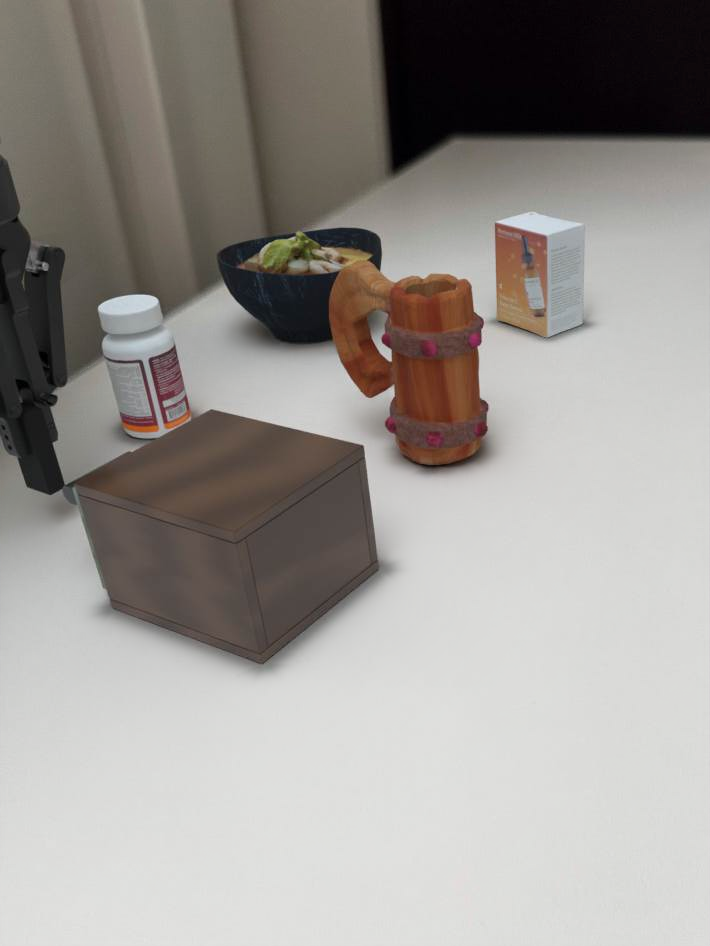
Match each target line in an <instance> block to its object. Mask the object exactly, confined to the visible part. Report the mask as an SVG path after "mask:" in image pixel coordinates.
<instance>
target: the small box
mask: <svg viewBox="0 0 710 946" xmlns="http://www.w3.org/2000/svg"><path fill="white" fill-rule="evenodd" d="M585 232H586V225H585V223H582V222H574V221H570V220H565V219H561V218H557V217H552V216H549V215H545V214H541V213H538V212H535V211H528V212H525V213H521V214H518V215H514V216H511V217H507V218H503V219H500V220H497V221H495V222H494V247H495V248H494V252H495V291H496V294H495V295H496V296H495V297H496V319H497V321H500V322H503V323H506V324H510V325H511V326H515V327H518V328H521V329H523V330H525V331H528V332H531V333H533V334H535V335H539V336H541V337H543V338H546V339H548V338H550V337H553V336H555V335H557V334H561V333H562V332H566V331H568V330H571V329H574V328H576V327H579V326H581V325H583V324H584V295H585V293H584V292H585V291H584V290H585V249H586V248H585V247H586V245H585V244H586V243H585V241H586V233H585Z"/></svg>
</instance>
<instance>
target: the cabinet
mask: <svg viewBox="0 0 710 946" xmlns="http://www.w3.org/2000/svg"><path fill="white" fill-rule="evenodd" d="M74 486H75V489H76V492H77V496H78V499H79V502H80V505H81V509H82V512H83V515H84V518H85V522H86V525H87V528H88V531H89V535H90V538H91V541H92V544H93V548H94V551H95V554H96V557H97V561H98V564H99V567H100V570H101V574H102V577H103V580H104V583H105V587H106V589H105V590H106V592H107V596H108V599H109V602H110V605H111V608H112V609H114V610H117V611H120V612H122V613H125V614H127V615H131V616H132V617H136V618H139V619H141V620H144V621H146V622H149V623H152V624H154V625H157V626H160V627H161V628H164V629H168V630H171V631H173V632H175V633H179V634H181V635H184V636H187V637H189V638H192V639H194V640H197V641H200V642H203V643H205V644H207V645H210V646H214V647H216V648H219V649H222V650H224V651H227V652H229V653H232V654H235V655H237V656H240V657H242V658H245V659H248V660H251V661H254V662H255V663H259V664H264V663H265V662H266V661H267V660H268V659H270V658H271V657H272V656H273V655H275V654H276V653H277V652H279V651H280V650H281V649H283V647H285V646H286V645H287V644H288V643H289V642H291V641H292V640H293V639H295V638H296V637H297V636H298V635H300V634H301V633H302V632H303V631H305V629H307V628H308V627H309V626H311V625H312V624H313V623H314V622H316V620H318V619H319V618H320V617H322V616H323V615H324V614H325V613H326V612H328V611H329V610H330V609H331V608H333V607H334V606H335V605H336V604H338V603H339V602H340V601H341V600H342V599H344V598H345V597H346V596H347V595H349V594H350V593H351V592H352V591H354V590H355V589H356V588H357V587H358V586H360V585H361V584H362V583H363V582H365V581H366V580H367V579H368V578H370V577H371V576H372V575H374V574H375V573H376V572H377V571H378V570H379V568H380V565H379V560H378V559H379V558H378V549H377V542H376V541H377V540H376V534H375V526H374V525H375V524H374V517H373V509H372V502H371V494H370V493H371V492H370V485H369V477H368V469H367V461H366V452H365V446H364V445H363V444H359V443H355V442H351V441H348V440H343V439H338V438H336V437H335V438H334V437H331V436H330V437H329V436H327V435H322V434H317V433H313V432H309V431H305V430H301V429H296V428H293V427H289V426H285V425H279V424H275V423H271V422H267V421H263V420H258V419H254V418H250V417H246V416H243V415H237V414H233V413H229V412H225V411H220V410H217V409H212V408H211V409H209V410H207V411H205V412H203V413H202V414H199V415H198V416H196V417H194V418H191V420H190V421H188V422H187V423H185V424H183V425H181V426H179V427H177V428H175V429H174V430H172V431H170V432H168V433H166V434H164V435H162V436H161V437H159V438H154V439H153V440H152V441H150V442H147V443H146V444H144V445H141V446H140V447H138V448H137V449H134V450H133V451H131V453H129V454H127V455H125V456H123V457H122V458H120V459H118V460H116V461H114V462H112V463H110V464H109V465H107V466H105V467H103V468H101V469H99V470H97V471H96V472H94V473H92V474H90V475H88V476H86V477H84V478H83V479H81V480H79V481H77V482H75V483H74Z"/></svg>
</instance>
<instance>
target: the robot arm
mask: <svg viewBox="0 0 710 946" xmlns="http://www.w3.org/2000/svg"><path fill="white" fill-rule="evenodd" d="M0 144H2V138H1V137H0ZM20 212H21V204H20V201H19V197H18V194H17V190H16V186H15V183H14V180H13V176H12V172H11V169H10V166H9V162H8V159H6V158H5V157H4V156H3V155H1V154H0V439H1V442H2V446H3V448H4V451H5V452H6V453H7V454H8V456H12V457H15V458H16V459H17V462H18V464H19V468H20V470H21V474H22V477H23V480H24V483H25V486H26V488H28V489H31V490H33V491H37V492H40V493H41V494H45V495H49V496H52V495H54V494H57V492H59V491H61V490H62V488H63V486H65V485H66V483H65V480H64V476H63V473H62V470H61V466H60V463H59V460H58V457H57V453H56V450H55V447H54V443H56V442H57V441H59V431H58V428H57V426H56V422H55V418H54V415H53V412H52V411H53V410H52V409H51V408H52V407H54V406H56V405H57V403H58V400H59V397H58V394H53V393H54V392H55V391H56V389H58V388H64V387H65V386H66V385H67V383H68V367H67V354H66V353H67V352H66V342H65V341H66V340H65V329H64V328H65V327H64V313H63V300H62V289H61V288H62V286H61V282H62V275H63V271H64V268H65V267H64V266H65V262H66V253H65V250H63V248H61V247H59V246H53V245H48V244H44V243H41V242H38V241H35V240H33V239H32V238H31V235H30V233H29V231H28V229H27V228H26V227H25V226H24V224H23V223H22V221H21V220H20V218H19V214H20Z"/></svg>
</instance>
